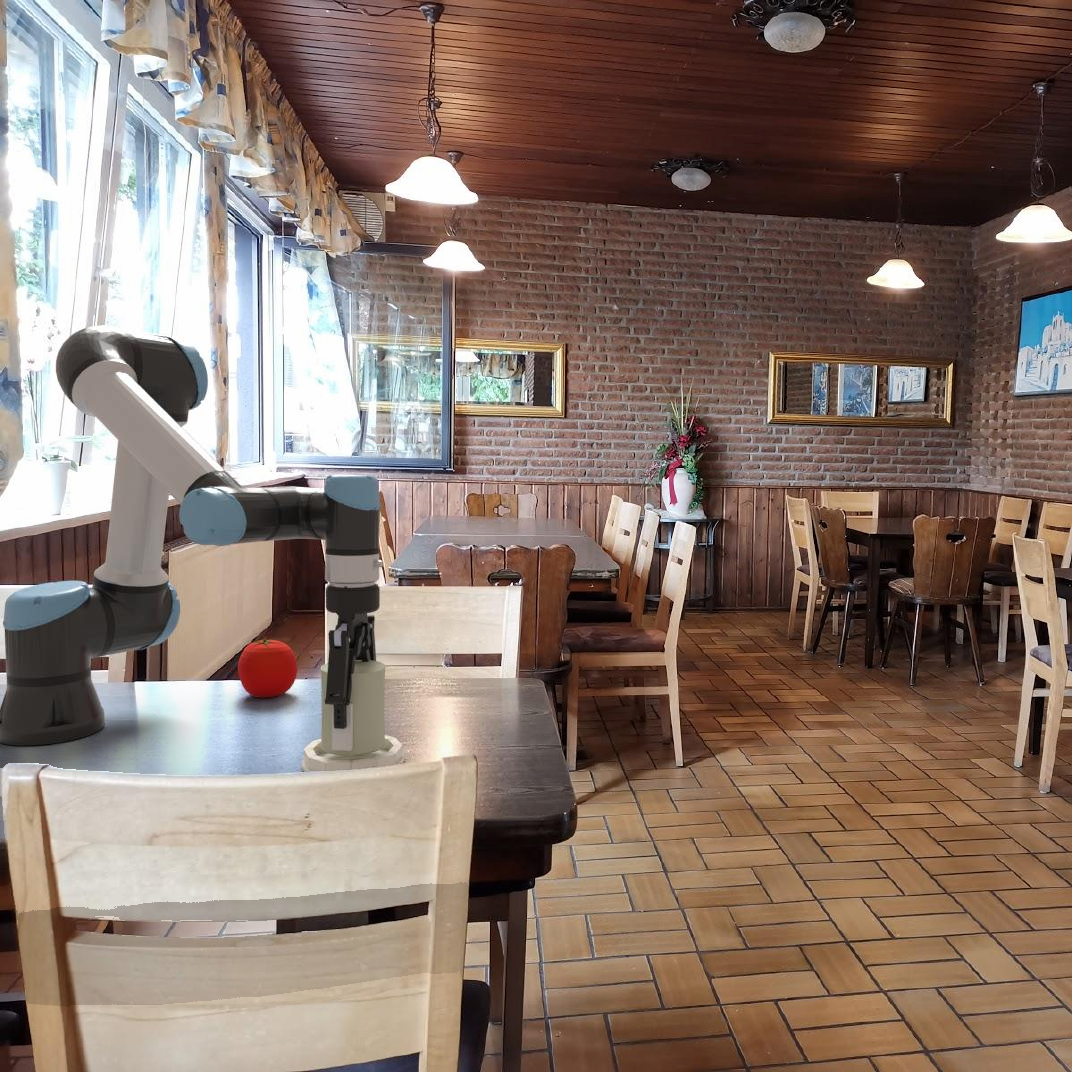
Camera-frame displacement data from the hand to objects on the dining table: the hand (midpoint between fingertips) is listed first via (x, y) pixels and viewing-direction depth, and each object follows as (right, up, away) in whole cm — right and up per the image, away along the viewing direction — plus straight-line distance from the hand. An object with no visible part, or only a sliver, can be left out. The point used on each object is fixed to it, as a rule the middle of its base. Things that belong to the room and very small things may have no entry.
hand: (353, 738), depth 120 cm
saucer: (0, -4, 0) cm, 4 cm away
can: (0, -1, 0) cm, 1 cm away
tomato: (-24, -1, +36) cm, 43 cm away
